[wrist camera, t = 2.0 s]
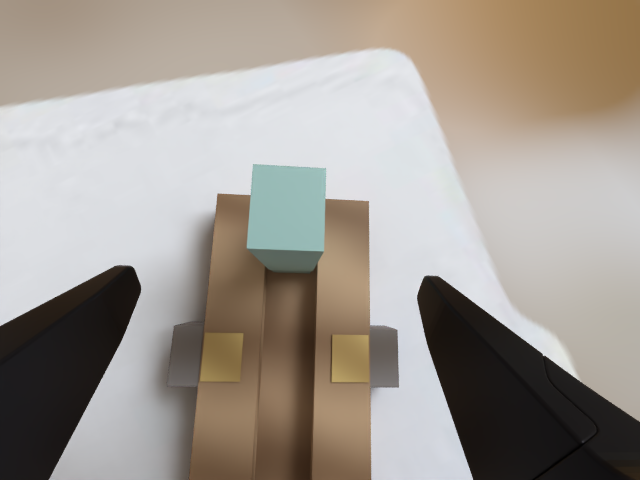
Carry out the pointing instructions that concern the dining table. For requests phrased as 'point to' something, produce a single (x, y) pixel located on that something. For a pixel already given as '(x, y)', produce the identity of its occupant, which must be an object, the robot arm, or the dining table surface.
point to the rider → (287, 217)
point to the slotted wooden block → (285, 357)
